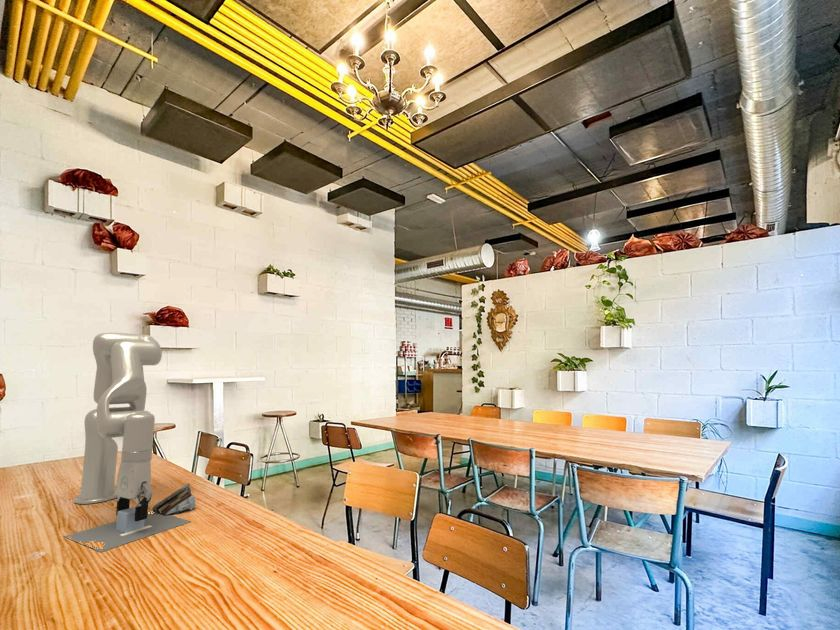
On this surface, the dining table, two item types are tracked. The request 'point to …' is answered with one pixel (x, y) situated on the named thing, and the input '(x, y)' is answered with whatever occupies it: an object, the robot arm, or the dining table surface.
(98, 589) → the dining table surface
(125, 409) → the robot arm
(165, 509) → the chocolate cake
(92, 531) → the letter mat
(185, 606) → the dining table surface
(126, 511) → the cube
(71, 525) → the dining table surface
